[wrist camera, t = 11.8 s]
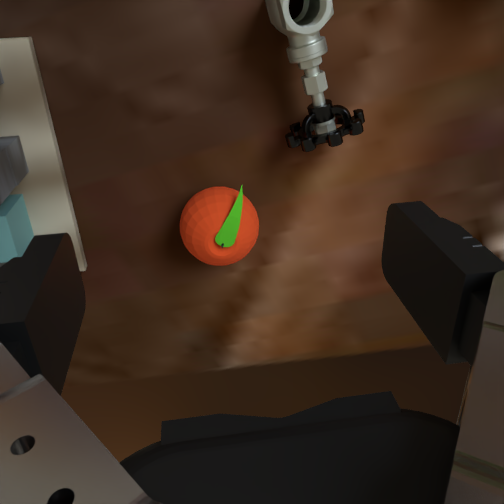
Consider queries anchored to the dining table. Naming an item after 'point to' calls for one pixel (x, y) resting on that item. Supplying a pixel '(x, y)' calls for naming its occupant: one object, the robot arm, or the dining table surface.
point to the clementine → (219, 226)
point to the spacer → (14, 228)
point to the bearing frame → (32, 146)
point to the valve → (313, 75)
